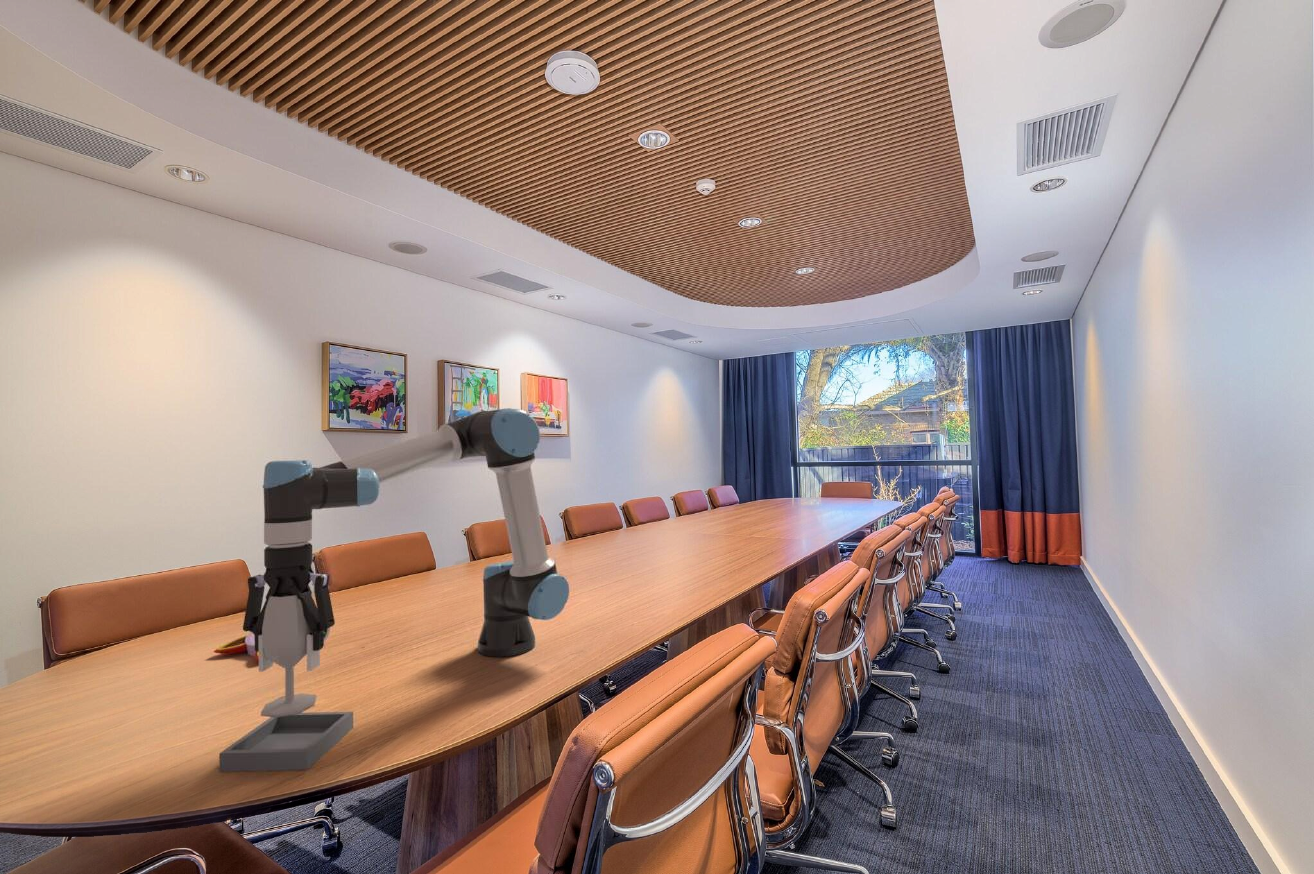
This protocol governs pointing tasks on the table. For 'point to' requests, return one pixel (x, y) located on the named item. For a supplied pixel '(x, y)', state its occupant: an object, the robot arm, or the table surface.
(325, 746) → the tray
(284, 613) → the wineglass
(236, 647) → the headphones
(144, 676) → the table surface
